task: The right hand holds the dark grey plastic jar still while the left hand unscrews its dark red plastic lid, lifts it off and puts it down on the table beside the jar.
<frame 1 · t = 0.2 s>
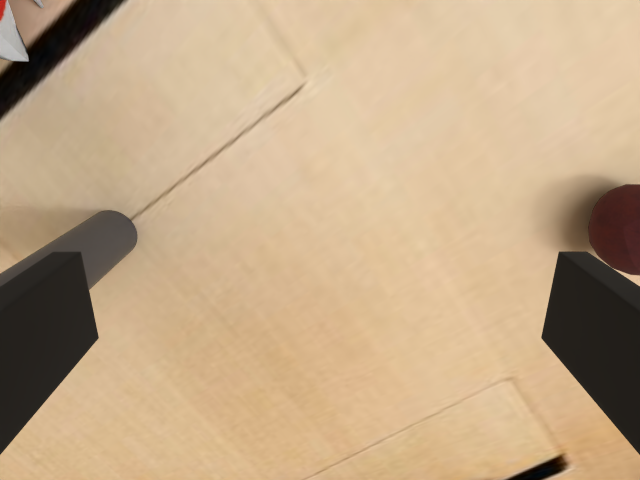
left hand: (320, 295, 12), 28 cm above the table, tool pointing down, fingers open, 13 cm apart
jar: (113, 233, 41), on the table
dark maroon ball: (610, 215, 41), on the table
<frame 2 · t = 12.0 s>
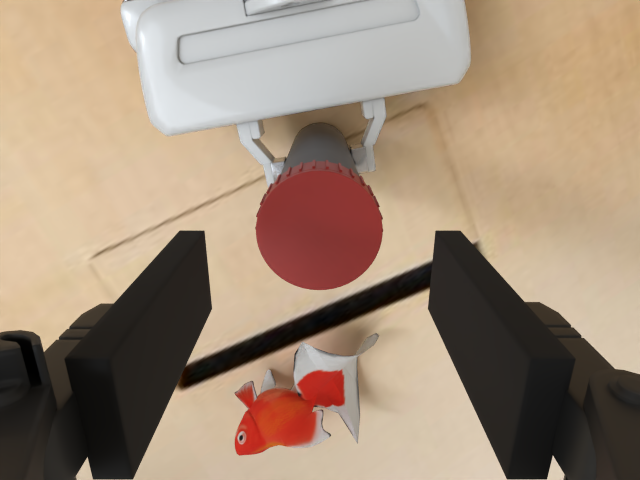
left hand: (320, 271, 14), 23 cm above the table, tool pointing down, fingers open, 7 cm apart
right hand: (322, 178, 30), fingers closed on jar, 4 cm apart
jar: (319, 151, 36), on the table, touching right hand
lid: (319, 230, 18), point 20 cm above the table, screwed on, not yet turned
fish: (308, 362, 43), on the table
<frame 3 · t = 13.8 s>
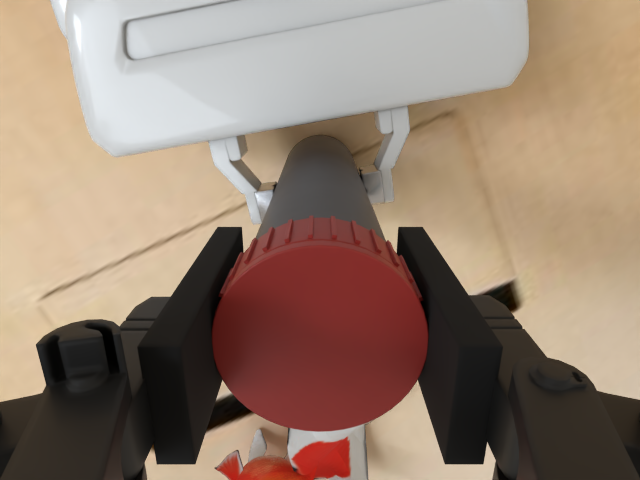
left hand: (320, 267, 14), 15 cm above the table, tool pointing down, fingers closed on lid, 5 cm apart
right hand: (323, 210, 23), fingers closed on jar, 4 cm apart
jar: (320, 170, 29), on the table, touching right hand
lid: (320, 338, 10), point 20 cm above the table, screwed on, not yet turned, touching left hand
fish: (306, 420, 36), on the table
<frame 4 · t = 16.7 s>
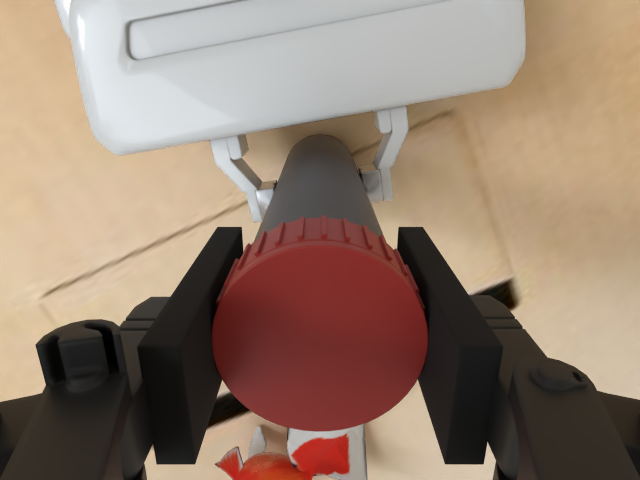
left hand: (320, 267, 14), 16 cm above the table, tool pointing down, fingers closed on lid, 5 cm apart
right hand: (323, 208, 24), fingers closed on jar, 4 cm apart
jar: (320, 169, 29), on the table, touching right hand
lid: (319, 338, 10), point 20 cm above the table, turned 89° so far, risen 0.3 cm, still on its thread, touching left hand
fish: (306, 418, 36), on the table
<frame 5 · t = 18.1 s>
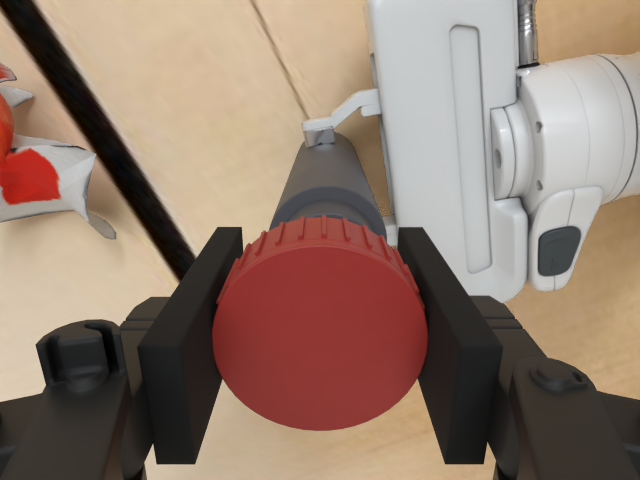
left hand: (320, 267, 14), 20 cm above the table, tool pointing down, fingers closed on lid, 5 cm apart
right hand: (313, 182, 28), fingers closed on jar, 4 cm apart
jar: (326, 161, 33), on the table, touching right hand
lid: (319, 337, 10), point 24 cm above the table, off its thread, touching left hand
fish: (54, 148, 33), on the table
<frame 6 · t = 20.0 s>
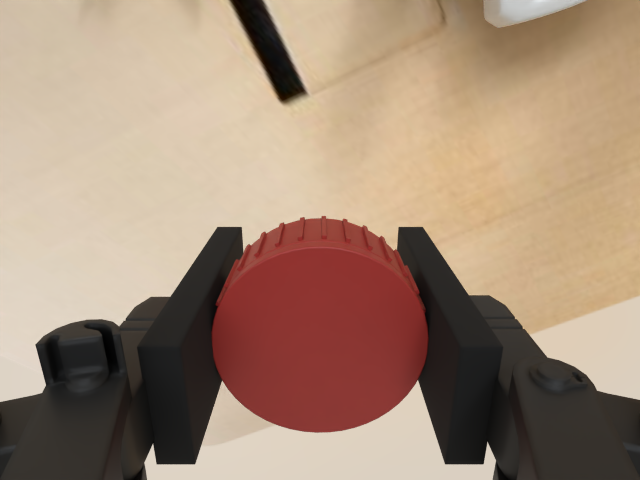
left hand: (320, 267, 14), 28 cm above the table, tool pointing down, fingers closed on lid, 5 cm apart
lid: (319, 339, 10), point 32 cm above the table, off its thread, touching left hand
when the left hand's fingers open (0 cm above the table, at t = 23.2 s): lid drops 3 cm, point 2 cm above the table.
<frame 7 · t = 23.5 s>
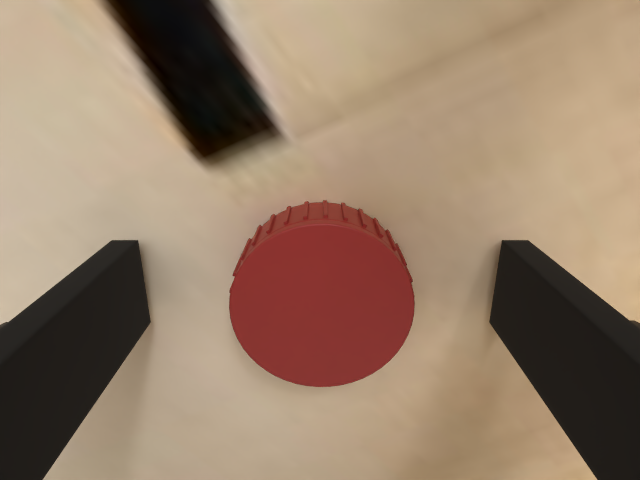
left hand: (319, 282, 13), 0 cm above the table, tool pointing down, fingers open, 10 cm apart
lid: (321, 305, 12), point 2 cm above the table, off its thread
when the right hand's fingers open (6 cm above the table, at t = 24.3 s): jar stays where it is, on the table.
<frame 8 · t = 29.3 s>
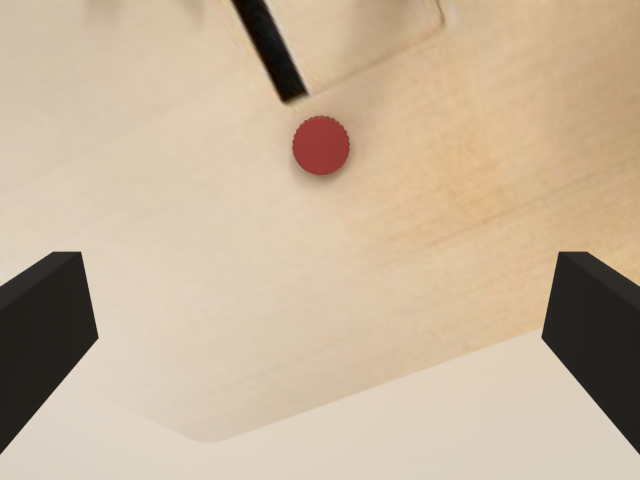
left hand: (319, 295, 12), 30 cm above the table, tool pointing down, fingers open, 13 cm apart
lid: (321, 146, 39), point 2 cm above the table, off its thread
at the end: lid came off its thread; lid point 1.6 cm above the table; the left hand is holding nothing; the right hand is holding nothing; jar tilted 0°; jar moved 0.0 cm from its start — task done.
